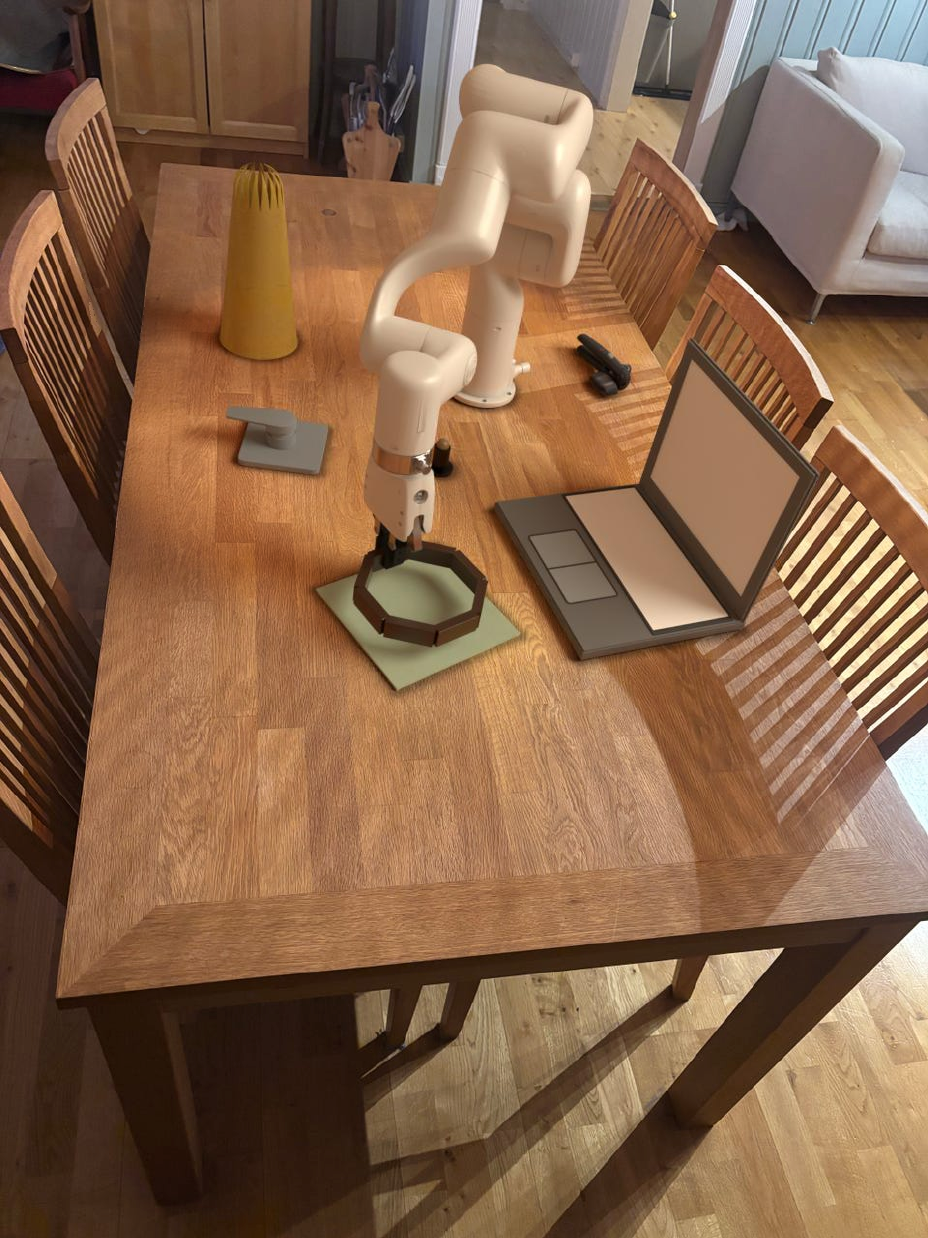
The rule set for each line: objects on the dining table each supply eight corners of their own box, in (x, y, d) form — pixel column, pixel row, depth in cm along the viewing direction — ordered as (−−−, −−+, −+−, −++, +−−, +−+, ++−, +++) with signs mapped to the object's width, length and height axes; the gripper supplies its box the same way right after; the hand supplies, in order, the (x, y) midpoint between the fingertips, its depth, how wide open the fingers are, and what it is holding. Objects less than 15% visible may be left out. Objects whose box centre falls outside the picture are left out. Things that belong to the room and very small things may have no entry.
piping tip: (274, 368, 167) (275, 193, 146) (204, 343, 169) (195, 167, 148) (311, 334, 176) (317, 166, 155) (244, 311, 178) (242, 142, 157)
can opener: (634, 399, 177) (643, 372, 173) (601, 402, 175) (608, 375, 171) (594, 347, 188) (601, 321, 184) (562, 349, 186) (568, 322, 182)
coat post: (442, 457, 156) (447, 428, 152) (458, 472, 154) (463, 443, 150) (419, 464, 154) (424, 435, 150) (435, 480, 152) (440, 451, 148)
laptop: (492, 510, 148) (527, 348, 129) (641, 491, 158) (695, 337, 138) (579, 662, 129) (636, 498, 109) (743, 630, 138) (824, 473, 118)
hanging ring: (435, 542, 137) (437, 526, 135) (507, 617, 129) (511, 602, 127) (332, 579, 129) (333, 563, 127) (402, 662, 120) (404, 647, 118)
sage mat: (436, 546, 141) (436, 544, 141) (520, 635, 131) (520, 633, 131) (315, 590, 131) (315, 588, 131) (396, 690, 121) (397, 688, 121)
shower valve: (234, 387, 152) (330, 400, 153) (235, 416, 156) (328, 429, 157) (218, 432, 143) (319, 446, 144) (219, 462, 147) (318, 475, 148)
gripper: (464, 477, 117) (444, 587, 130) (393, 410, 125) (381, 519, 138) (412, 494, 114) (397, 605, 127) (343, 423, 122) (335, 534, 134)
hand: (389, 559), depth 132 cm, fingers closed on hanging ring, 1 cm apart
